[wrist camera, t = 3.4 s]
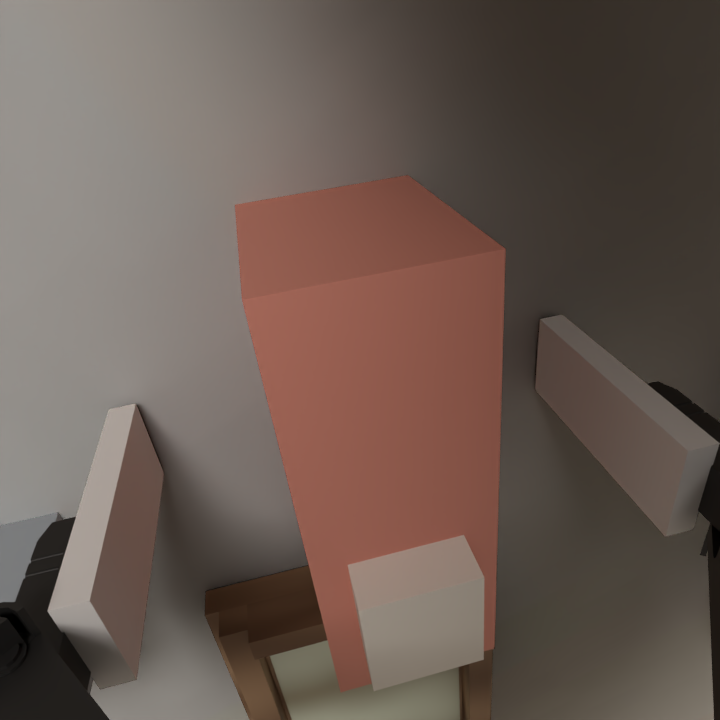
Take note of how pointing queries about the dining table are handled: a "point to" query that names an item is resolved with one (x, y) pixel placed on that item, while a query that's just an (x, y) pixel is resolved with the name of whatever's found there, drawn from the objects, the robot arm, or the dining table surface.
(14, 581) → the gray cube
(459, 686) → the picture frame
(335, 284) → the pink pillar with cube
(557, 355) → the robot arm
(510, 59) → the dining table surface
